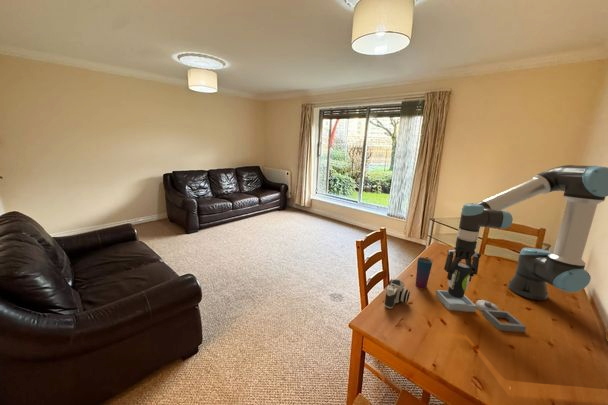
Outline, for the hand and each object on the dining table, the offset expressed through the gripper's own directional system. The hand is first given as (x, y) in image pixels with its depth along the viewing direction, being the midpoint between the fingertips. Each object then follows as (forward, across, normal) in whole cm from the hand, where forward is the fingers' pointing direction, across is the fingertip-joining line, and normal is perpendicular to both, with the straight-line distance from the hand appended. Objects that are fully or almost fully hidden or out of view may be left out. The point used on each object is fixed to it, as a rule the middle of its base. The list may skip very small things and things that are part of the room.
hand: (457, 286), depth 113 cm
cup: (+9, +10, -13) cm, 18 cm away
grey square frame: (+8, -13, +12) cm, 20 cm away
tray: (+8, 0, 0) cm, 8 cm away
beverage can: (+4, 0, 0) cm, 4 cm away
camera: (+9, +27, +2) cm, 29 cm away
